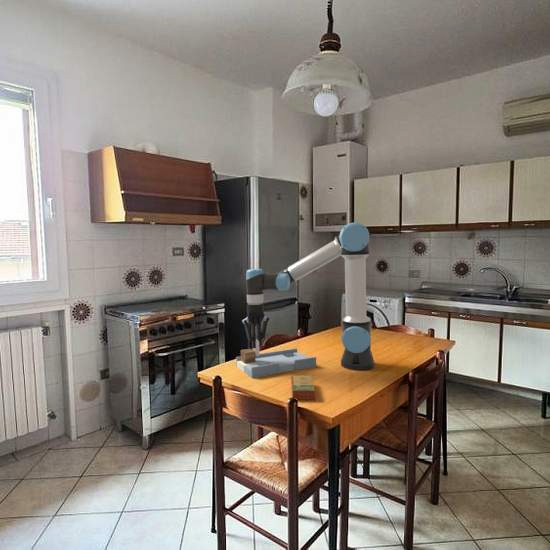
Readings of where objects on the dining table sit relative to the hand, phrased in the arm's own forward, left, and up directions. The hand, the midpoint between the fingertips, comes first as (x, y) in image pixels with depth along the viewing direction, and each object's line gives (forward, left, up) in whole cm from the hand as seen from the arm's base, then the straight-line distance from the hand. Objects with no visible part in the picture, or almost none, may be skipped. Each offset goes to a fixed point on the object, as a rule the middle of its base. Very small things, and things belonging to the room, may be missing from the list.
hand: (256, 354), depth 182 cm
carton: (-36, -2, -7) cm, 37 cm away
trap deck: (-4, -8, -6) cm, 11 cm away
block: (+1, +4, -3) cm, 5 cm away
